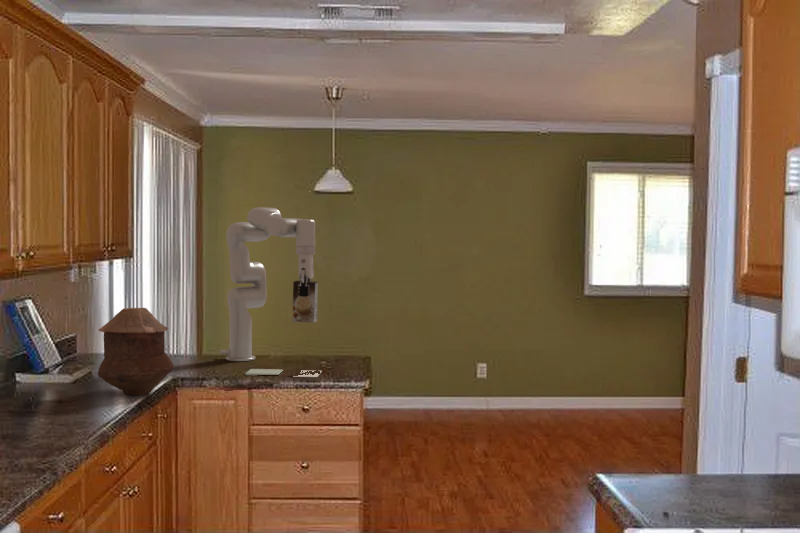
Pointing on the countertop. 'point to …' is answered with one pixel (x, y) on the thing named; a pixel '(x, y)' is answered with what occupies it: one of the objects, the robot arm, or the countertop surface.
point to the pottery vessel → (134, 352)
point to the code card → (308, 374)
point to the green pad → (264, 372)
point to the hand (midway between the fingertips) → (305, 295)
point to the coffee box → (305, 303)
